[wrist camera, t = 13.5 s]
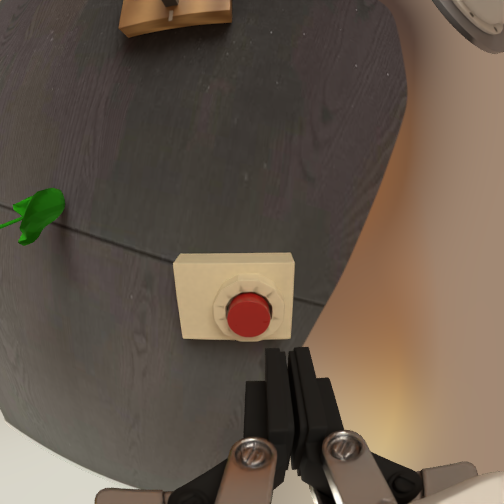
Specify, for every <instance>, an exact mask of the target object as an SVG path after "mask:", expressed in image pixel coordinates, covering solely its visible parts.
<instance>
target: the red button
mask: <svg viewBox="0 0 504 504" xmlns="http://www.w3.org/2000/svg"><path fill="white" fill-rule="evenodd" d="M227 322H228V325H229V327H230V329H231V330H232V331H233V332H234V333H236V334H237V335H239V336H242V337H256V336H258V335H260V334H262V333H264V332H265V331H266V329H267V328H268V327H269V324H270V311H269V306H268V303H267V302H266V300H265V299H264V298H262V297H261V296H259V295H257V294H254V293H244V294H240V295H238V296H237V297H235V298H234V299H233V300H232V301H231V303H230V305H229V309H228V316H227Z"/></svg>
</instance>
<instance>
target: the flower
mask: <svg viewBox="0 0 504 504" xmlns="http://www.w3.org/2000/svg"><path fill="white" fill-rule="evenodd" d="M64 207H65V200H64V196H63V193H62V192H61V190H59V189H55V188H49V189H45V190H42V191H38V192H37V193H36V194H34V195H33V196H31V197H28V198H26V199H25V200H23V201H21V202H19V203H16V204H13V208H14V210H15V211H16V212H17V213H19V214H20V215H21V216H22V217H20V218H17V219H14V220H12V221H9V222H7V223H4V224H2V225H0V229H1V228H4V227H6V226H8V225H11V224H13V223H16V222H18V221H21V220H22V223H21V226H20V230H21V232H22V233H23V234H22V235H21V237H20V239H19V241H18V243H19V244H21V245H23V246H25V245H28V244H30V243H33V242H34V241H35V240H36V239H37V238H38V237H39V235H40V233H41V232H42V230H43V229H44V227H45V226H47V225H48V224H50V223H51V222H53V221H54V220H55V219H57V218H58V217H59V216H60V214H61V213H62V212H63V210H64Z"/></svg>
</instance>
